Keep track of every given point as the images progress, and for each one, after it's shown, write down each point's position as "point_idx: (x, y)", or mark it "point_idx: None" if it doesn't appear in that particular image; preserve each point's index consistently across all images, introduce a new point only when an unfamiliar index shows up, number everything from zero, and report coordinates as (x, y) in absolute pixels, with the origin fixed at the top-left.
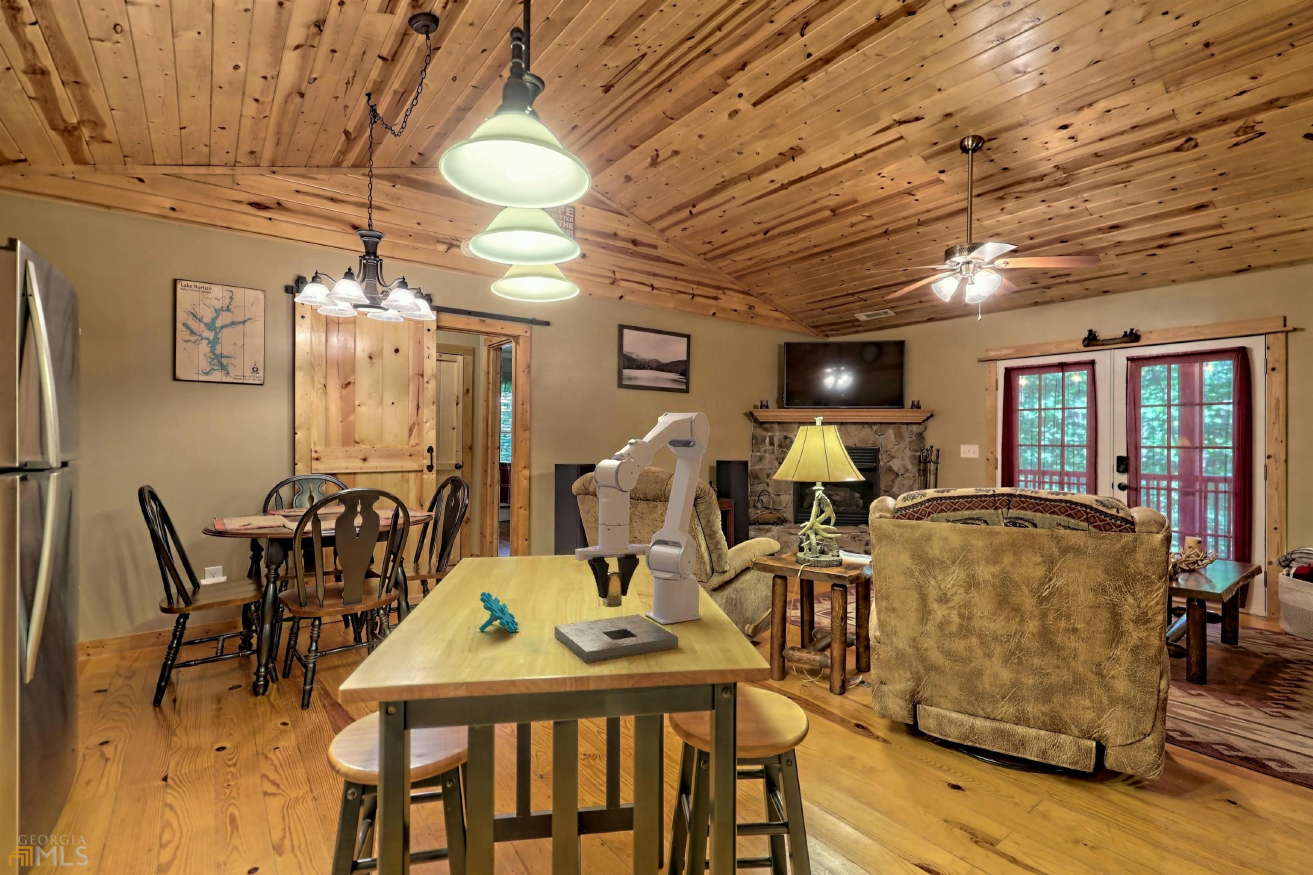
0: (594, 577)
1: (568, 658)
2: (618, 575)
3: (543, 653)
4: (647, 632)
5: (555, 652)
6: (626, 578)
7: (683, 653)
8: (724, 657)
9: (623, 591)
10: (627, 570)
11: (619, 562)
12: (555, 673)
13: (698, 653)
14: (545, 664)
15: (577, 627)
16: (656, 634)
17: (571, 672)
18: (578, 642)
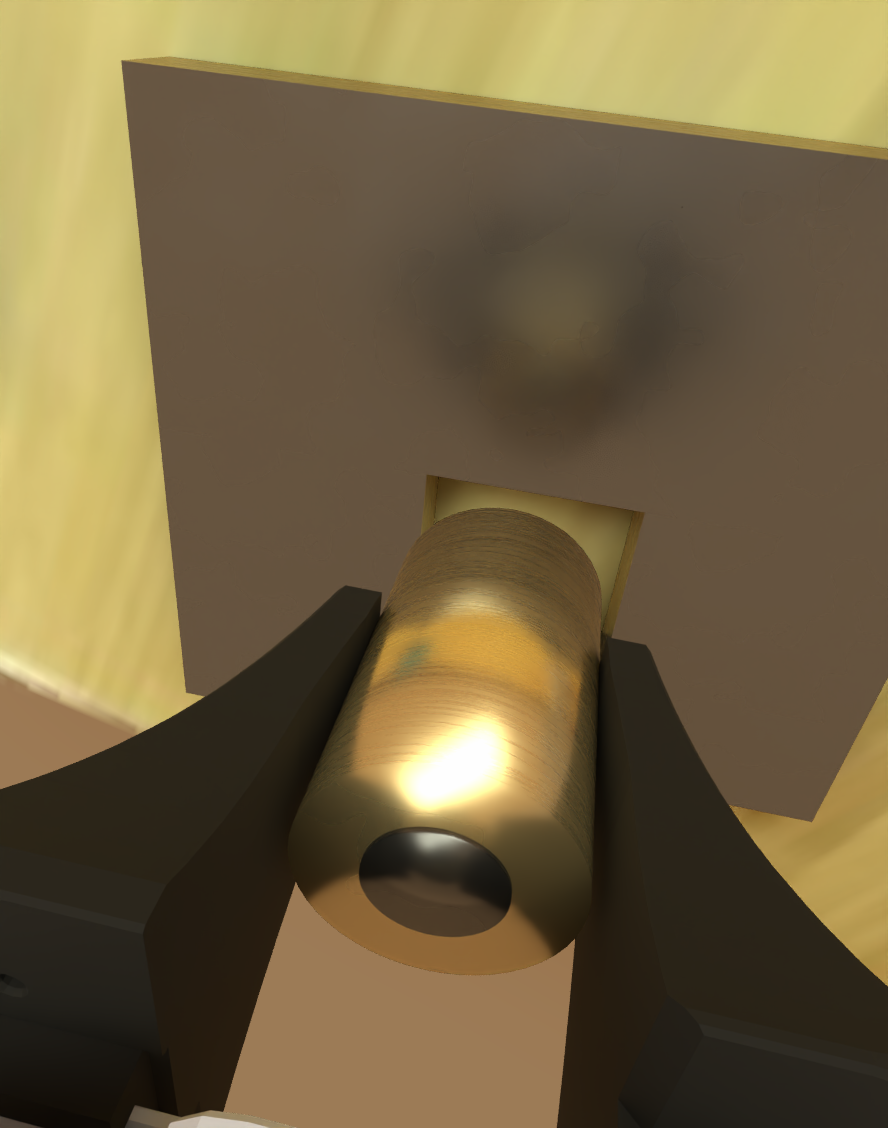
0: (208, 695)
1: (147, 539)
2: (457, 957)
3: (23, 386)
4: (715, 664)
5: (98, 413)
6: (577, 945)
7: (749, 826)
8: (869, 954)
9: None
10: (562, 1082)
11: (626, 992)
12: (42, 654)
13: (815, 866)
14: (12, 540)
15: (303, 247)
16: (736, 721)
17: (114, 685)
18: (191, 551)
